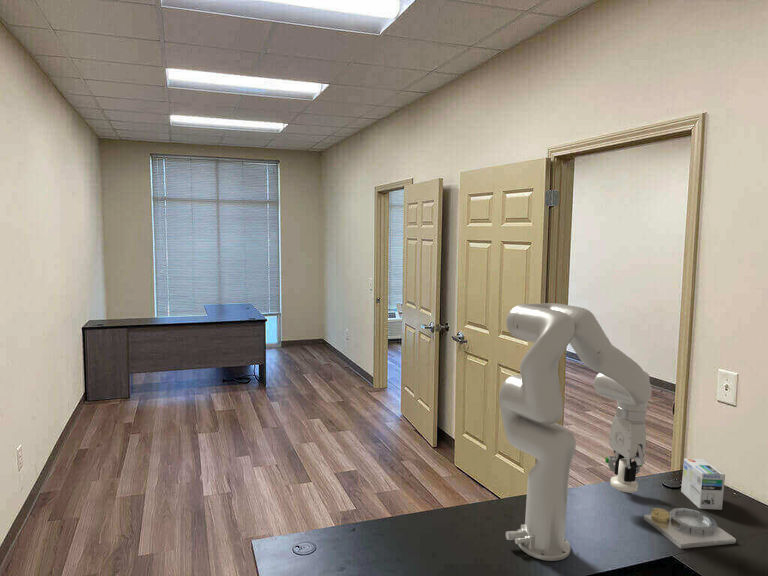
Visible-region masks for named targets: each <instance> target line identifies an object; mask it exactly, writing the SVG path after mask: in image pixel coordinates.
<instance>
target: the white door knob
mask: <svg viewBox="0 0 768 576" xmlns="http://www.w3.org/2000/svg"><path fill="white" fill-rule="evenodd" d="M633 461H634V460H633V459H631V462H633ZM625 467H627V459H625V458H621V459H619V468H618V475H615V476H611V478H610V483H609V484H610V486H611V488H613V489H615V490H617V491H619V492H621V491H622V493H629V494H630V493H636V492H638V489H639V483H638V482H637V481H636V480H635V481H634V482H625V481H624V473H625Z"/></svg>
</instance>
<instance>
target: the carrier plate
mask: <svg viewBox="0 0 768 576" xmlns="http://www.w3.org/2000/svg"><path fill="white" fill-rule="evenodd" d="M643 520H644V521H645V522H647V523H648V524H649V525H650V526H652V527H653V528H654V529H655V530H656V531H658V532H659V533H660V534H661V535H663V536H664V537H665V538H667V539H668V540H669V541H670V542H672V543H673V544H674V545H675V546H676V547H678V548H679V549H690V548H700V547H711V546H712V547H713V546H721V545H730V544H731V545H732V544H736V540H737V539H736V538H735V537H734V536H733V535H731V534H730V533H728V532H727V531H725V530H724V529H722V528H721V527H719V526H718V523H717V521H716V520H715V519H714V518H713V517H711V516H710V515H708V514H707V513H705V512H701V511H699V510H698V509H697V510H696V509H691V508H687V507H676V508H673V509H671V510H670V511H668V510H667V509H665V508H660V507H653V508H652V509H651V513H650V514H644V516H643Z"/></svg>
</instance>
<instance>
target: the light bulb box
mask: <svg viewBox="0 0 768 576" xmlns="http://www.w3.org/2000/svg"><path fill="white" fill-rule="evenodd" d="M725 480H726V474H725V473H724V472H722V471H721V470H720V469H718V468H717V467H715V466H714V465H713V464H712V463H711V462H708V461H707V460H706V459H702V458H700V459H699V458H683V467H682V480H681V488H680V493H682V494H683V495H684V496H685V497H686V498H687V499H689V500H690V502H691V503H692V504H694V505H695V507H697V508H698V509H700V510H720V511H721V510H723V503H724V502H723V501H724V492H725Z"/></svg>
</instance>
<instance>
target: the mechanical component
mask: <svg viewBox="0 0 768 576" xmlns="http://www.w3.org/2000/svg"><path fill="white" fill-rule="evenodd" d="M614 457H615V455H607V457H605V458H604V459H605V461H604V462H605V464H607V466H608V468H609V470H610V471H611V472H612V473H614V472H615V461H616V460H615V458H614ZM626 459H627V458H626ZM642 467H643V465H640V466H639V467H638V468H637V469H636V475H638V474H639V473H640V470H641V468H642ZM620 492H622V491H620ZM622 493H623V492H622Z"/></svg>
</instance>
